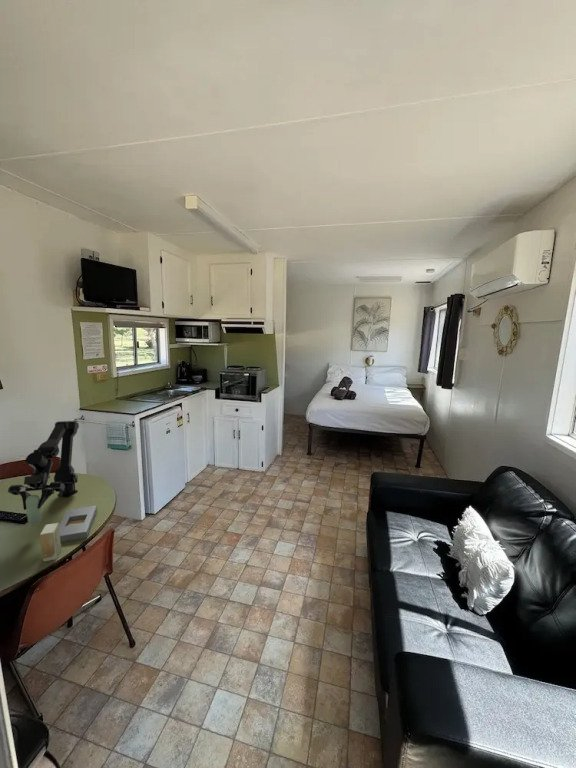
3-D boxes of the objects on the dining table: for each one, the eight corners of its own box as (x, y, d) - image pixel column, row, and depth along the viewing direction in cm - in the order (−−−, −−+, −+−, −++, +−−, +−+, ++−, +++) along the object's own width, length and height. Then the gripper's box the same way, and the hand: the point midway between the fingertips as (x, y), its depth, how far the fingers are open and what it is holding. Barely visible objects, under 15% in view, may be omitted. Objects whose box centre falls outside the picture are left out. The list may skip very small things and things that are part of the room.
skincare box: (48, 550, 122) (45, 523, 120) (61, 548, 124) (59, 521, 122) (42, 562, 116) (39, 534, 114) (56, 560, 118) (53, 532, 116)
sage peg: (36, 516, 132) (33, 491, 130) (44, 519, 131) (41, 493, 129) (25, 523, 128) (22, 497, 126) (33, 525, 127) (30, 499, 125)
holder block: (67, 515, 145) (67, 509, 144) (97, 511, 149) (96, 505, 148) (53, 543, 126) (52, 537, 126) (87, 537, 131) (86, 531, 130)
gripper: (7, 468, 126) (-7, 507, 118) (59, 464, 131) (50, 502, 123) (19, 476, 135) (8, 513, 127) (68, 472, 140) (60, 508, 132)
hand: (31, 509), depth 127 cm, fingers closed on sage peg, 4 cm apart
